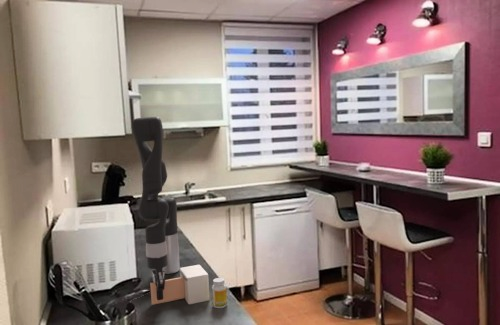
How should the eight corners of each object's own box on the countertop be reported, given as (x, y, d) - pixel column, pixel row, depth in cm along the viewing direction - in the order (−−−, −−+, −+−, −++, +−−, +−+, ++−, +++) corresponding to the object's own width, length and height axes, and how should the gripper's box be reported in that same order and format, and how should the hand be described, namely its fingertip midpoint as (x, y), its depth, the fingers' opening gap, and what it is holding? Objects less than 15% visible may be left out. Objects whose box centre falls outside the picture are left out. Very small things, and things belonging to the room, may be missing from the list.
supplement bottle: (209, 305, 154) (207, 280, 153) (220, 300, 157) (218, 275, 156) (219, 310, 150) (218, 283, 149) (230, 304, 154) (229, 279, 153)
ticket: (151, 303, 157) (150, 282, 156) (188, 296, 162) (187, 276, 161) (152, 304, 156) (150, 283, 155) (189, 297, 161) (188, 276, 160)
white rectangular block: (180, 292, 166) (178, 268, 165) (200, 288, 170) (199, 264, 168) (187, 304, 155) (186, 278, 154) (209, 300, 158) (208, 274, 157)
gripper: (143, 250, 160) (146, 294, 162) (149, 260, 148) (152, 308, 150) (163, 246, 163) (166, 290, 165) (170, 256, 151) (173, 303, 153)
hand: (159, 298), depth 157 cm, fingers closed
